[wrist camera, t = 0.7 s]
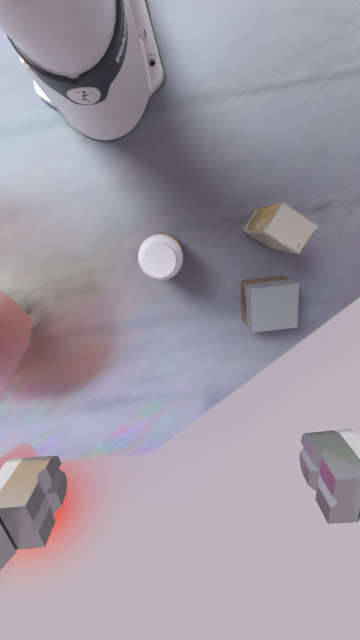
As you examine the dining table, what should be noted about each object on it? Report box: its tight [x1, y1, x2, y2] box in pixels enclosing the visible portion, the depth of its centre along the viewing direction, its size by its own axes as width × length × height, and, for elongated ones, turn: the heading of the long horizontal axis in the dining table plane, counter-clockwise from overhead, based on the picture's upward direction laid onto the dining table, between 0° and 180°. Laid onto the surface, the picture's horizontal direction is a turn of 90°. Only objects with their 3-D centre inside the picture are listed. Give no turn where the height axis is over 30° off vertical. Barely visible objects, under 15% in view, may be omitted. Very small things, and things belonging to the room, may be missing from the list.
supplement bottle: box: [138, 233, 183, 280], centre depth 39 cm, size 7×7×13 cm
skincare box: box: [243, 202, 318, 254], centre depth 38 cm, size 6×4×12 cm
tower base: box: [241, 276, 289, 325], centre depth 47 cm, size 8×8×4 cm
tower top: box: [246, 279, 299, 333], centre depth 44 cm, size 8×8×4 cm
